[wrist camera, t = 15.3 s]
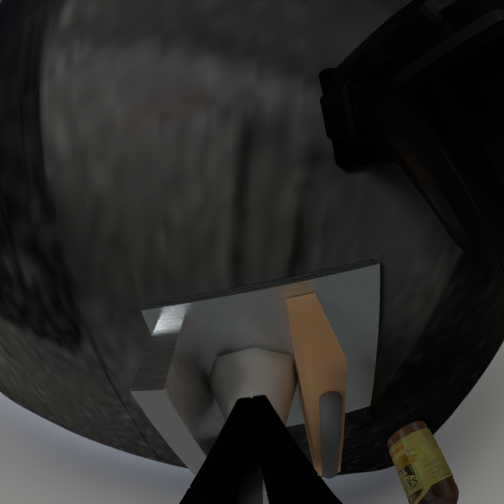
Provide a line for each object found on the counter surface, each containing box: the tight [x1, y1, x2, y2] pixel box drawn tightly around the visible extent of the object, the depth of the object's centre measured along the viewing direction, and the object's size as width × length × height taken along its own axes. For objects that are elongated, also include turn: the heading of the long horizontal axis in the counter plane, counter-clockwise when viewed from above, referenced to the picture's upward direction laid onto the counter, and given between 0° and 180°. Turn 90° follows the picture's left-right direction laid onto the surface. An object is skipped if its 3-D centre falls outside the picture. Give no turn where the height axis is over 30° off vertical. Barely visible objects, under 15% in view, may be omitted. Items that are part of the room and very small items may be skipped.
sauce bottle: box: [387, 421, 459, 504], centre depth 19 cm, size 6×6×20 cm
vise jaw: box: [286, 293, 347, 478], centre depth 17 cm, size 2×14×8 cm, turn 11°
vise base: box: [130, 259, 380, 476], centre depth 19 cm, size 17×16×8 cm
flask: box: [208, 347, 298, 495], centre depth 17 cm, size 7×7×10 cm
